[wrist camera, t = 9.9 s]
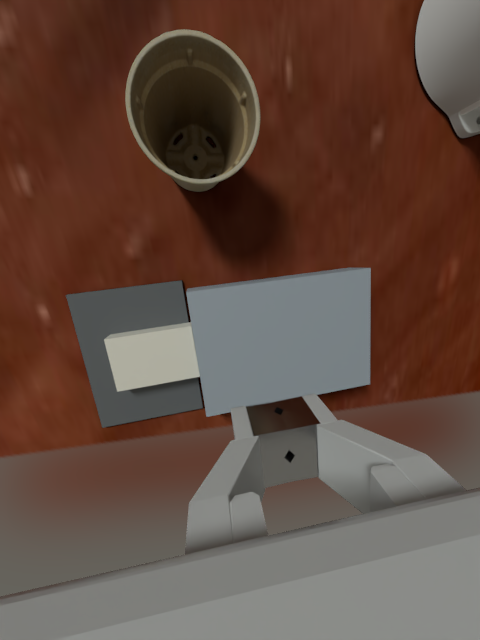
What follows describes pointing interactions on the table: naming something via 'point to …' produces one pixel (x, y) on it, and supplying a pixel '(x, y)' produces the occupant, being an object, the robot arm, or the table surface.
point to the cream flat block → (152, 356)
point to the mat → (124, 316)
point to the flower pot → (192, 108)
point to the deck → (281, 337)
